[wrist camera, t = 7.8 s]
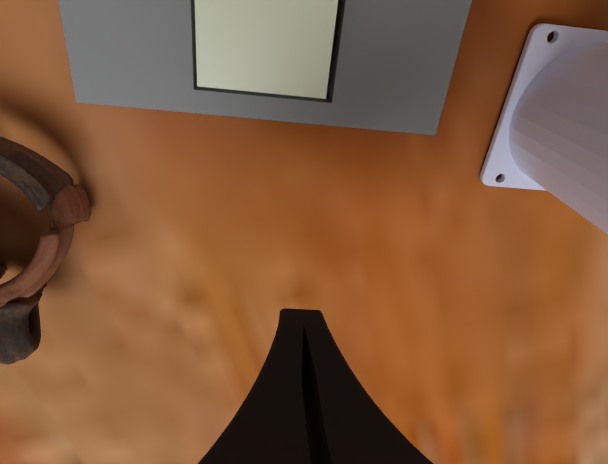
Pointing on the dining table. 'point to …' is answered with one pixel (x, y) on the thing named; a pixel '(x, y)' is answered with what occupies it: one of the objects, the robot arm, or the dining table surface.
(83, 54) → the grey rectangular frame
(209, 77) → the sage key
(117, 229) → the dining table surface
